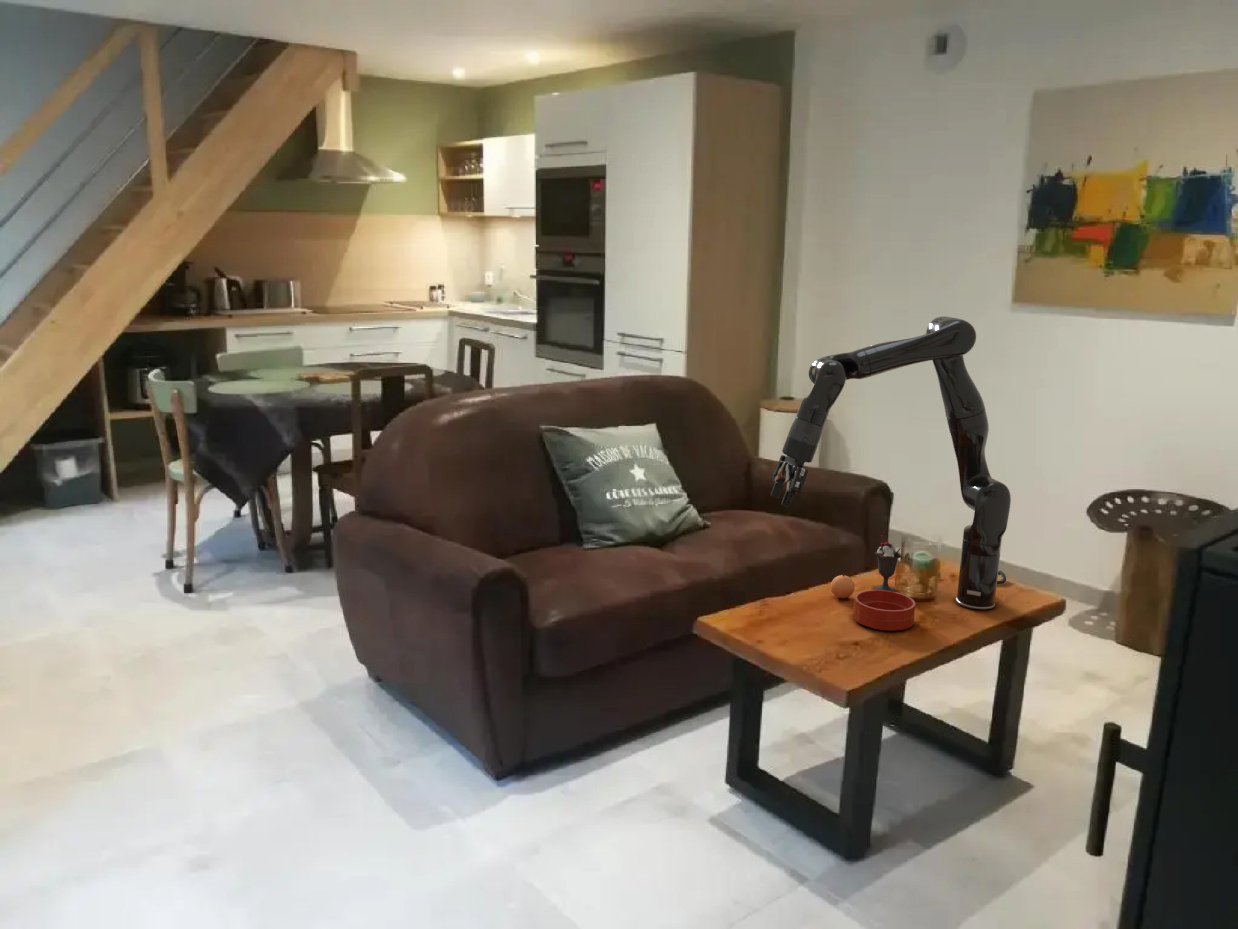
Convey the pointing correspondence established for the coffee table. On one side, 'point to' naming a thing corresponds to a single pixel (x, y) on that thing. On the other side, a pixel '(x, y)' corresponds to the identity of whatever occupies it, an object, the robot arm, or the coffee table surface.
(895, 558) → the sundae
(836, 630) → the coffee table surface
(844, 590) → the peach
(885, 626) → the bowl
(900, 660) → the coffee table surface
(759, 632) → the coffee table surface
